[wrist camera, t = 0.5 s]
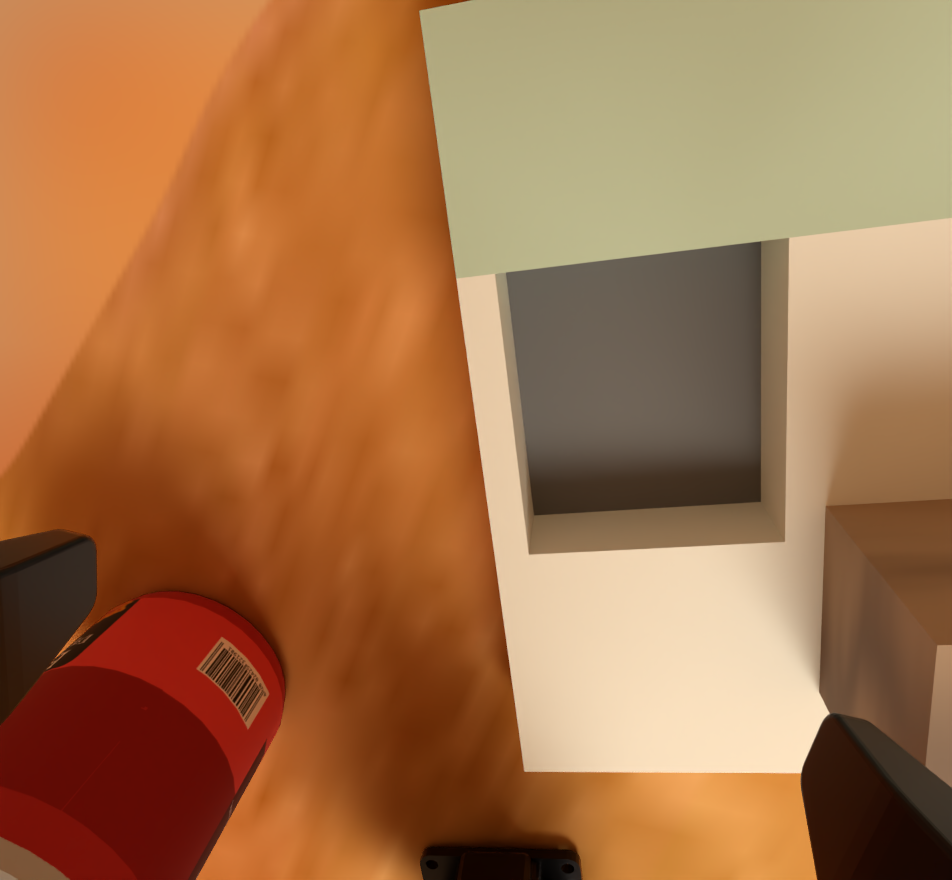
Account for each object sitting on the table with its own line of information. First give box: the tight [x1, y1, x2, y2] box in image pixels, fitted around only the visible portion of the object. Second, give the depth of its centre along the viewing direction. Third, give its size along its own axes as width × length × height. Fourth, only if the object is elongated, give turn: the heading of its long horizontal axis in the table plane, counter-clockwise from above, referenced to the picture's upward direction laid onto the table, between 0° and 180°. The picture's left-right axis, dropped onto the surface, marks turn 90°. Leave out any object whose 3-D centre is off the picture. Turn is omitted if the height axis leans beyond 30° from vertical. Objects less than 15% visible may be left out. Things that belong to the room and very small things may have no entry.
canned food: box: [0, 591, 285, 880], centre depth 22 cm, size 8×8×11 cm
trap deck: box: [419, 0, 952, 773], centre depth 18 cm, size 22×24×3 cm
